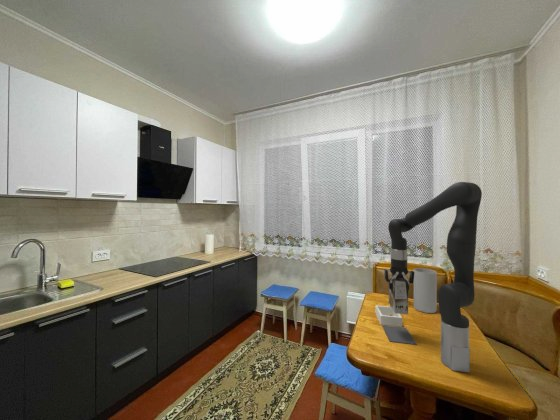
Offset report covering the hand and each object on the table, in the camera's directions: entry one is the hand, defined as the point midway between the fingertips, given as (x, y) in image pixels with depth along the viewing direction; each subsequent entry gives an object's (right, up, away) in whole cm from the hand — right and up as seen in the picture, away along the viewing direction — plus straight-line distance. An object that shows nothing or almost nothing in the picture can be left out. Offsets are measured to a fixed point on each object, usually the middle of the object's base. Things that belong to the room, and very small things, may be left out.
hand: (398, 290), depth 115 cm
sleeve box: (+2, -23, +16) cm, 28 cm away
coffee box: (0, -10, 0) cm, 10 cm away
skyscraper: (+19, -23, +38) cm, 48 cm away
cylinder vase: (+33, -23, +30) cm, 50 cm away
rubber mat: (0, -23, 0) cm, 23 cm away
